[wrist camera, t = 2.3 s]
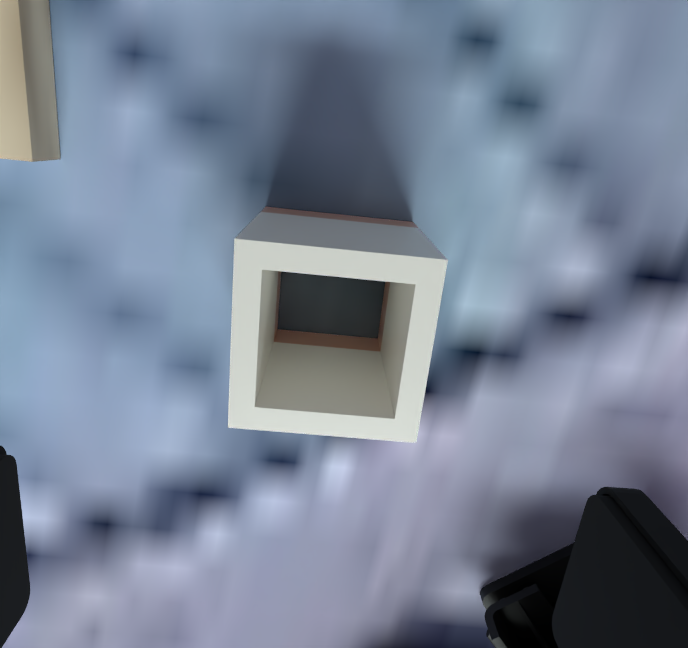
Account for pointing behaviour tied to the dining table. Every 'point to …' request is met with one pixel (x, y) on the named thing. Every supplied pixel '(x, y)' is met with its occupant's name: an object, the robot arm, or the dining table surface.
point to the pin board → (27, 82)
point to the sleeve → (329, 349)
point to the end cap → (525, 603)
